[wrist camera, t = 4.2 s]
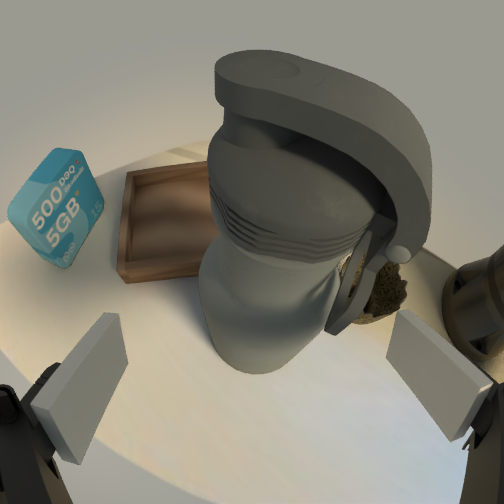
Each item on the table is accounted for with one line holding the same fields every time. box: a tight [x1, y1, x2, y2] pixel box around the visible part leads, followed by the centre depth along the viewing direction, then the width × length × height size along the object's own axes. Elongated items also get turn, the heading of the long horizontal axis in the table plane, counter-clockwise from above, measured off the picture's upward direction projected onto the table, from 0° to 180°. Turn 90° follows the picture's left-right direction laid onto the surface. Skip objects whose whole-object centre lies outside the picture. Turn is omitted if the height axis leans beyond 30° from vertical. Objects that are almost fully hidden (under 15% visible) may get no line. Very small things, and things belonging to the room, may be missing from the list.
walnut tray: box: [117, 161, 218, 284], centre depth 37 cm, size 16×16×4 cm
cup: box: [339, 249, 407, 324], centre depth 30 cm, size 8×7×8 cm
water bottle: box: [198, 50, 432, 374], centre depth 20 cm, size 10×10×28 cm
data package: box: [7, 148, 104, 268], centre depth 32 cm, size 12×4×12 cm, turn 164°
